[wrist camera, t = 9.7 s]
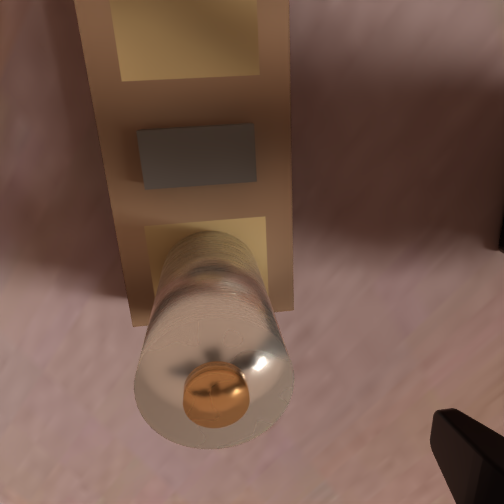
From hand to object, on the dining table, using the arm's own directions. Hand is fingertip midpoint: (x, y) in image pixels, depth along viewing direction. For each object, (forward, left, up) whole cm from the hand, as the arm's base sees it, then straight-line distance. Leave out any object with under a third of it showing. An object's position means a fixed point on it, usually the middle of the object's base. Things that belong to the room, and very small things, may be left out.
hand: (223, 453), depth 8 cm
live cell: (0, 0, -9) cm, 9 cm away
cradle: (+5, 0, -12) cm, 13 cm away
